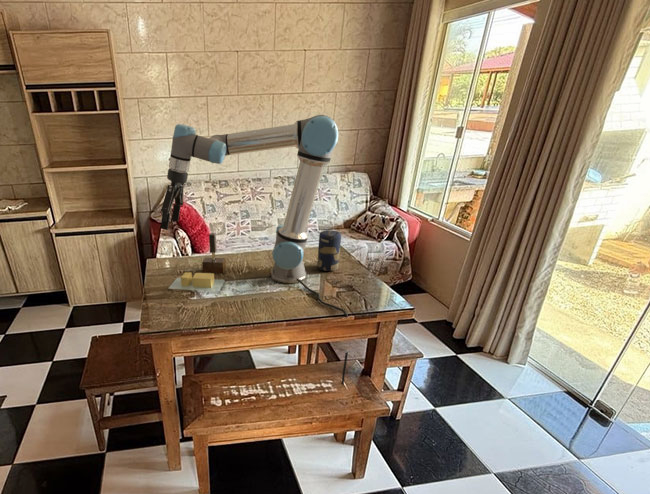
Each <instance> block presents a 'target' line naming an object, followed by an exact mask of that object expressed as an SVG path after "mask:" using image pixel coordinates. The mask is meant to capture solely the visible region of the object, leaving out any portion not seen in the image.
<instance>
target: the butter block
mask: <svg viewBox="0 0 650 494" xmlns="http://www.w3.org/2000/svg"><path fill="white" fill-rule="evenodd" d="M214 279H215V273H205V272H195V273H194V275H192V282H193V287H207V288H211V287H212V285H213V284H214Z"/></svg>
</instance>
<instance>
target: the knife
mask: <svg viewBox="0 0 650 494" xmlns="http://www.w3.org/2000/svg"><path fill="white" fill-rule="evenodd" d="M208 239H209V253H211V258H212V262H215V258H216V253H217V251H218V249H217V234H216V233H213V232H210V233H209V235H208Z"/></svg>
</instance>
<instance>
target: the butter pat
mask: <svg viewBox="0 0 650 494" xmlns="http://www.w3.org/2000/svg"><path fill="white" fill-rule="evenodd" d="M180 278H181V285H182V286H187V287H188V286H189V285H190V283H191V282H192V278H193V275H192V272H189V271H187V272H186V271H185V272H184V273H183V274H182V275H181V276H180Z"/></svg>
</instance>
